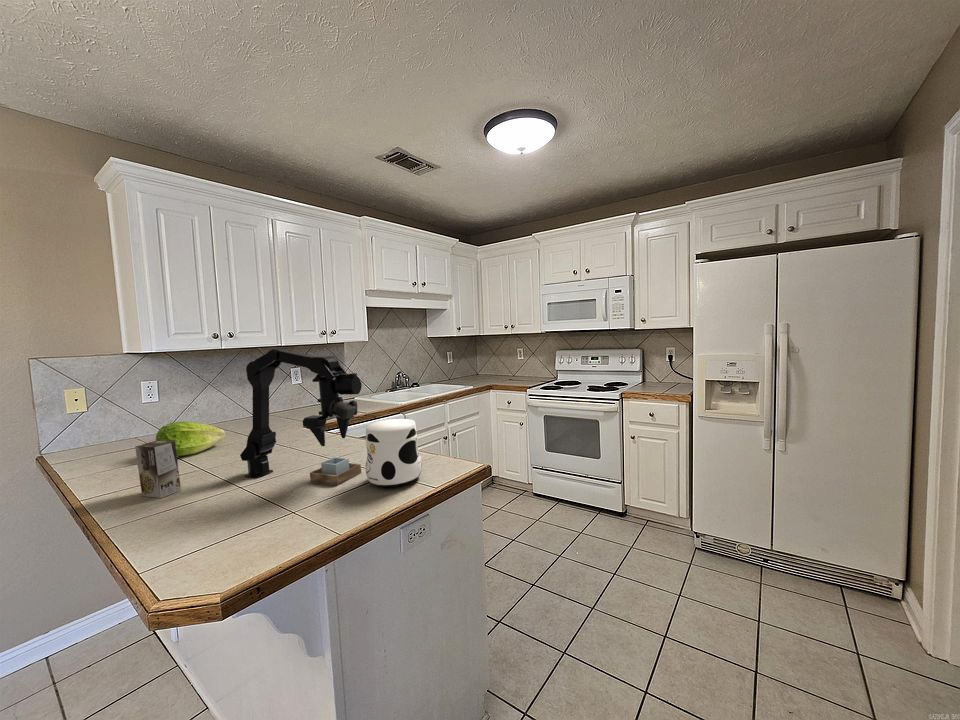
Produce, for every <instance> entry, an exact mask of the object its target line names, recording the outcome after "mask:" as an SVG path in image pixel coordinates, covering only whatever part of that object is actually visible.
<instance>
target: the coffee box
mask: <svg viewBox="0 0 960 720" xmlns="http://www.w3.org/2000/svg"><path fill="white" fill-rule="evenodd" d="M134 448H135V449H134V450H135V455H136V456H135V457H136V463H137V469H138V476H139V483H140V491H141V496H142V497H148V498H149V497H150V498H156V499H157V498H158V499H162V498H165V497H168V496H170V495H173V494H175V493H179V492H181V491H182V487H181V480H180V472H179V463H178V457H177V453H176V445H175V441H156V440H153V441H149V442H145V443H143V444H139V445H136V446H135V447H134Z"/></svg>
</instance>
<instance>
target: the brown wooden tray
mask: <svg viewBox="0 0 960 720" xmlns="http://www.w3.org/2000/svg"><path fill="white" fill-rule="evenodd" d="M360 474H362V464H360V463H353V462H349V469H348V470H346V471H345V472H343V473H341V474H339V475H329V474H322V467H320V468H318V469H314V470H313V471H310V472H309V478H310V479H309V480H310V483H315V484H322V485H331V486H336V487H337V486H340V485H341V484H343V483H345V482H347V481H349V480H351V479H353V478H354V477H357V476H358V475H360Z"/></svg>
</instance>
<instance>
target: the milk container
mask: <svg viewBox="0 0 960 720" xmlns="http://www.w3.org/2000/svg"><path fill="white" fill-rule="evenodd" d="M365 428H366V429H365V440H366V441H365V443H366V450H367V451H366V453H367V455H366V461H365V469H364V470H365V475H366V478H367V481H368V482H369V483H370V484H372V485H374V486H377V487H384V488H386V487H387V488H390V487H399V486H404V485H406V484H410V483H412V482H413V481H415V480H416V479H418V478H419V477H420V475H421V474H422V467H423V461H422V457H421V454H420V451H419V447H418V445H419V444H418V434H417V425H416V421H415V420H413V419H410V418H392V419H391V418H390V419H383V420H379V421H374V422H371V423H369V424H368V425H366V427H365Z"/></svg>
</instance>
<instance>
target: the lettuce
mask: <svg viewBox="0 0 960 720" xmlns="http://www.w3.org/2000/svg"><path fill="white" fill-rule="evenodd" d="M225 438H226V432H225V430H224V429H222V428H220V427H218V426H215V425H211V424H208V423H202V422H196V421H175V422H169V423H167V424H165V425H163V426H162V427H161V428H160V429H158V431H157V433H156V435H155V441H175V445H176V453H177V458H178V457H183V456H184V457H185V456H192V455H196V454H198V453H201V452H204V451H206V450H207V449H209V448H211V447H213V446H215V445H217V444H218V443H221V442H222V441H223V440H225Z"/></svg>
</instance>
